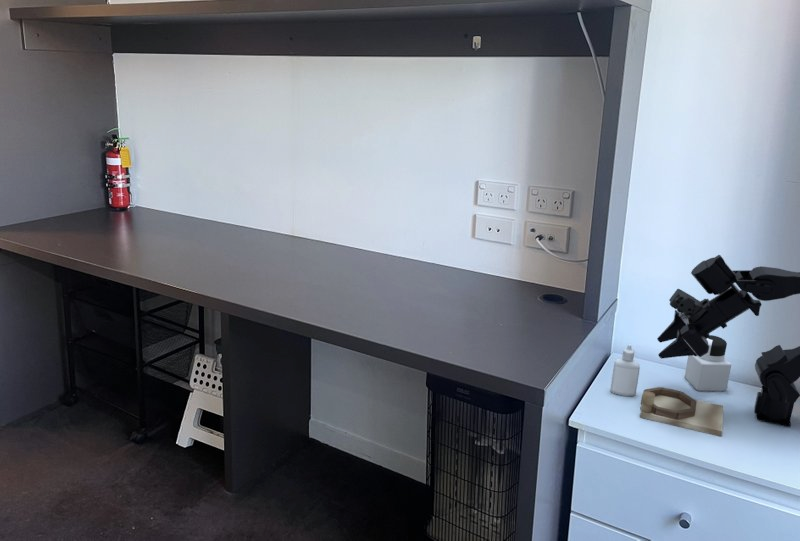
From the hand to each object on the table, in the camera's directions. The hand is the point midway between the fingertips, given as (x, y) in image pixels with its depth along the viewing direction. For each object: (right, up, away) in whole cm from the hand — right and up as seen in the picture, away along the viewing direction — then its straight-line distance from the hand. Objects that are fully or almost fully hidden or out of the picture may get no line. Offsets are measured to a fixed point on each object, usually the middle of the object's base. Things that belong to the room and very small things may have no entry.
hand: (658, 348), depth 149 cm
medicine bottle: (+15, -10, +11) cm, 21 cm away
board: (+4, -14, -3) cm, 15 cm away
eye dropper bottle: (-6, -11, +6) cm, 14 cm away
